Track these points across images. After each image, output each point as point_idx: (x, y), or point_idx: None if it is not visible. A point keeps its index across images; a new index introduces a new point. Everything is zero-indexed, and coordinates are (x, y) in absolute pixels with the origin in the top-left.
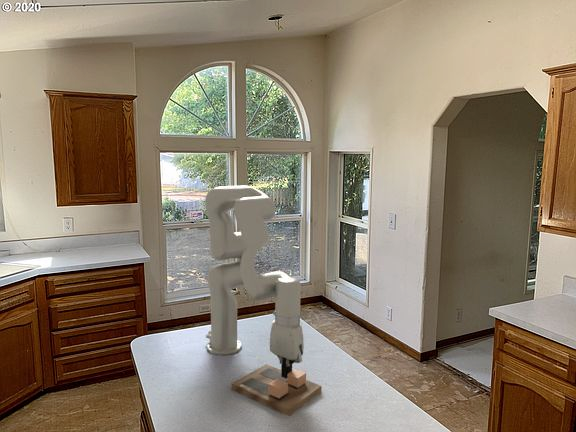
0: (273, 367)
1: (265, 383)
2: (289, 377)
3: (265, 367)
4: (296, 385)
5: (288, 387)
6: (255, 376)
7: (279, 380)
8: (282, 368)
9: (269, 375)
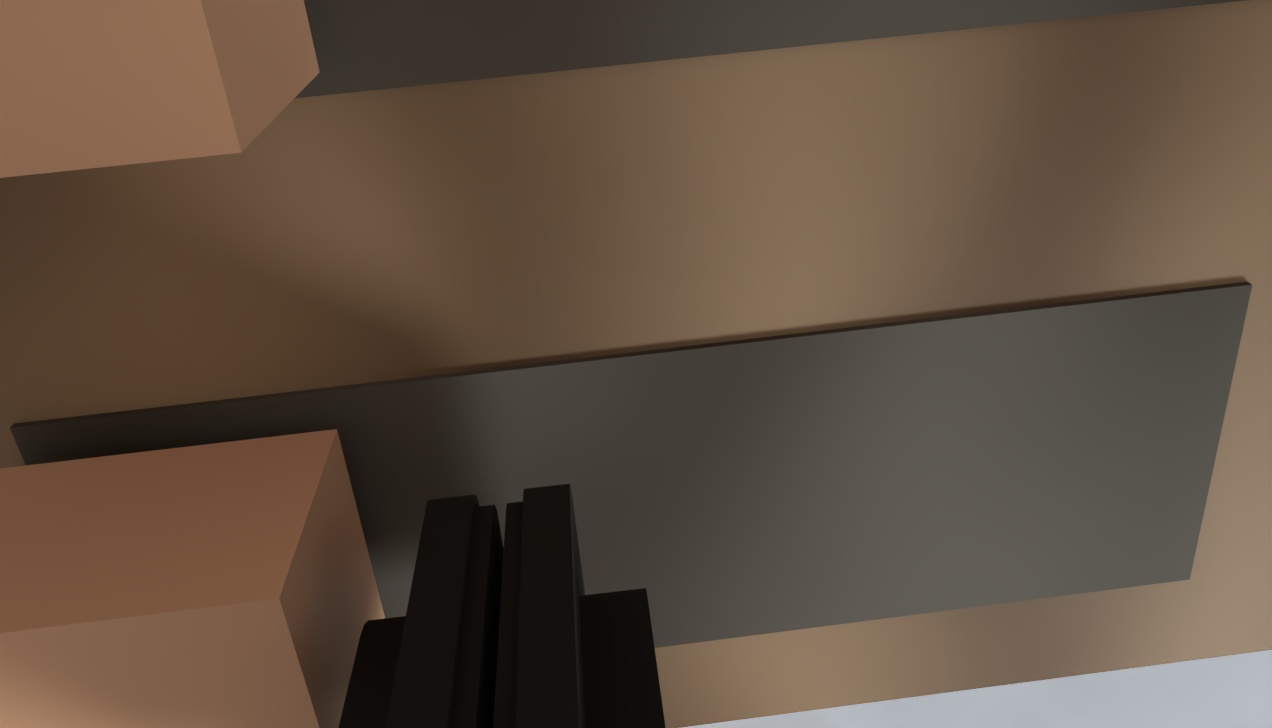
0: (1113, 658)
1: (803, 60)
2: (220, 548)
3: (1264, 555)
4: (20, 488)
5: (222, 346)
6: (1253, 125)
7: (23, 93)
8: (532, 665)
9: (974, 395)
